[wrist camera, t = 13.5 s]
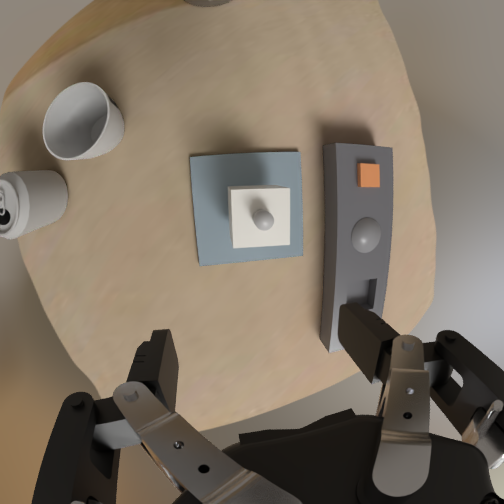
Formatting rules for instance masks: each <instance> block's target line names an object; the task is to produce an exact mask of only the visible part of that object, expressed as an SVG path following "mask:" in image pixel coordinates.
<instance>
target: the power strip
mask: <svg viewBox="0 0 504 504" xmlns="http://www.w3.org/2000/svg"><path fill="white" fill-rule="evenodd" d="M323 161H324V191H325V252H324V282H323V302H322V318H321V331H320V340H321V342H322V343H323V345H324V346H325V348H326V349H327V351H328V352H329V353H331V352H335V351H339V350H343V349H344V348H343V346H342V345H341V344H340V342H339V339H338V320H339V308H340V306H341V305H342V304H346V303H351V302H357V303H358V304H359V305H360V306H361V307H363V308H364V309H367V310H370V311H372V312H374V313H376V314H377V315H378V316H379V317H380V318H381V319H382V313H383V307H384V301H385V294H386V287H387V279H388V271H389V261H390V250H391V237H392V220H393V152H392V148H390V147H381V146H371V145H360V144H347V143H332V144H327V145H323Z"/></svg>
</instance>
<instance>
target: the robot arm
mask: <svg viewBox="0 0 504 504" xmlns="http://www.w3.org/2000/svg"><path fill="white" fill-rule="evenodd" d="M184 1H185V2H188V3H190V4H192V5H196V6H202V7H211V6H218V5H222V4H225V3H228V2H230V1H231V0H184ZM338 339H339V342H340V344H341V345H342V346H343V348H344V349H345V350H346V352H347V353H348V354H349V356H350V357H351V358H352V359H353V361H354V362H355V363H356V365H357V366H358V367H359V368H360V370H361V371H362V372H363V374H364V375H365V376H366V378H367V379H368V380H369V382H370V383H371V384H374V383H376V382H379V381H381V382H382V383H383V384H382V387H381V391H380V397H379V402H378V407H377V411H376V415H375V416H374V415H355V413H354V412H353V410H352V409H348V410H345V411H341V412H338V413H335V414H332V415H328V416H325V417H324V418H321V419H320V420H317V421H316V422H313V423H312V424H309V425H308V426H305V427H303V428H301V429H285V430H284V429H282V430H263V431H257V432H251V433H244V434H239V439H240V442H238V443H235V444H233V445H231V446H229V447H227V448H225V449H223V450H222V451H221V450H219V449H218V448H217V447H216V446H214V445H213V444H212V443H211V442H210V441H208V440H207V439H206V438H205V437H204V436H202V435H201V434H200V433H199V432H198V431H197V430H196V429H195V428H194V427H192V426H191V425H190V424H189V423H188V422H187V421H186V420H185V419H184V418H183V417H182V416H181V415H179V414H178V413H177V412H175V404H176V392H177V380H178V370H179V365H178V358H177V354H176V350H175V346H174V343H173V339H172V335H171V331H170V330H169V329H163V330H153V333H152V336H151V339H150V341H144V342H143V343H142V344H141V345H140V346H139V347H138V348H137V351H136V354H135V357H134V360H133V363H132V366H131V369H130V372H129V375H128V378H127V381H126V383H123V384H121V385H120V386H118V387H117V388H116V389H115V390H114V392H113V396H112V397H109V398H105V399H100V400H95V401H94V400H93V398H92V396H91V395H90V394H88V393H86V392H76V393H73V394H71V395H69V396H68V397H67V398H66V399H65V400H64V402H63V404H62V407H61V409H60V412H59V414H58V417H57V419H56V422H55V425H54V428H53V431H52V433H51V436H50V439H49V442H48V445H47V448H46V451H45V454H44V457H43V461H42V464H41V467H40V471H39V475H38V478H37V482H36V487H35V490H34V495H33V499H32V504H116V492H117V479H118V468H119V459H120V450H121V448H123V447H128V446H133V445H137V444H140V445H141V447H142V448H143V449H144V451H145V452H146V453H147V454H148V456H149V457H150V458H151V459H152V460H153V462H154V463H155V464H156V465H157V466H158V468H159V469H160V470H161V471H162V472H163V473H164V474H165V476H166V477H167V478H168V479H169V480H170V482H171V483H172V484H173V485H174V486H175V487H176V488H177V489H178V490H179V491H180V492H181V493H182V494H181V495H180V496H179V497H178V498H177V499H176V500H175V501H174V502H173V503H172V504H504V499H502V498H500V497H499V496H498V495H496V493H495V492H494V489H493V486H492V483H491V480H490V475H489V469H494V468H497V467H499V466H500V465H501V464H502V463H503V462H504V371H503V370H502V369H501V368H500V367H498V366H497V365H496V364H495V363H494V362H493V361H492V360H490V359H489V358H488V357H487V356H486V355H484V354H483V353H482V352H481V351H480V350H479V349H477V348H476V347H475V346H474V345H473V344H471V343H470V342H469V341H468V340H466V339H465V338H464V337H463V336H461V335H460V334H459V333H457V332H455V331H451V330H444V331H441V332H439V333H438V334H437V337H436V341H435V342H429V343H422V341H421V340H420V339H419V338H417V337H415V336H412V335H400V334H399V333H397V332H396V331H395V330H394V329H393V328H392V327H391V326H390V325H388V324H387V323H386V322H385V321H384V320H383V319H381V318H380V317H379V316H378V315H377V314H376V313H374V312H372V311H370V310H367V309H364V308H363V307H361V306H360V305H359V304H358V303H357V302H351V303H346V304H342V305H341V306H340V308H339V320H338ZM453 369H455V370H456V371H457V372H458V373H459V374H460V375H461V376H462V378H463V387H462V388H461V387H460V386H459V385H458V384H457V383H456V381H455V380H454V379H453V378H452V377H451V374H452V371H453ZM430 397H431V398H432V400H433V401H434V402H435V403H436V404H437V406H438V407H439V408H440V409H441V411H442V412H443V413H444V414H445V415H446V417H447V418H448V419H449V421H450V422H451V423H452V424H453V426H454V427H455V428H456V430H457V431H458V432H459V433H460V435H461V436H462V441H458V440H454V439H450V438H446V437H442V436H439V435H435V434H432V433H429V419H430Z"/></svg>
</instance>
